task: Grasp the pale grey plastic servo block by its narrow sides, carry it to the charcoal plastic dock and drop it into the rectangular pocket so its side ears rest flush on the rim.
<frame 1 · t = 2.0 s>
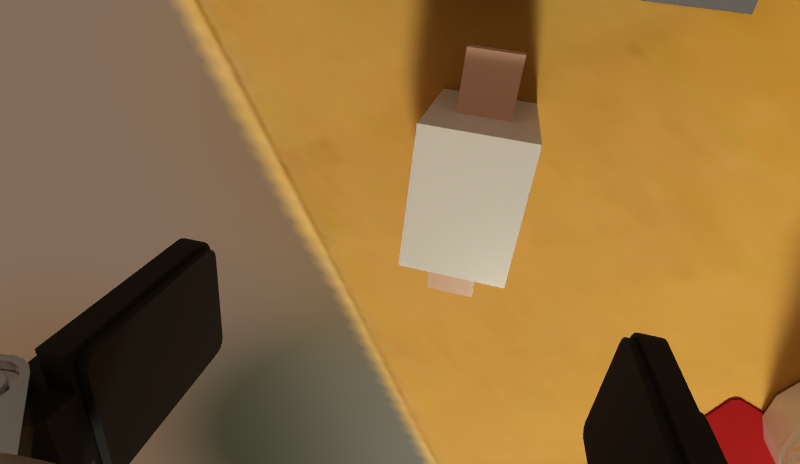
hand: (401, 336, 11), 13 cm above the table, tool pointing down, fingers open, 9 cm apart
servo block: (477, 156, 21), on the table
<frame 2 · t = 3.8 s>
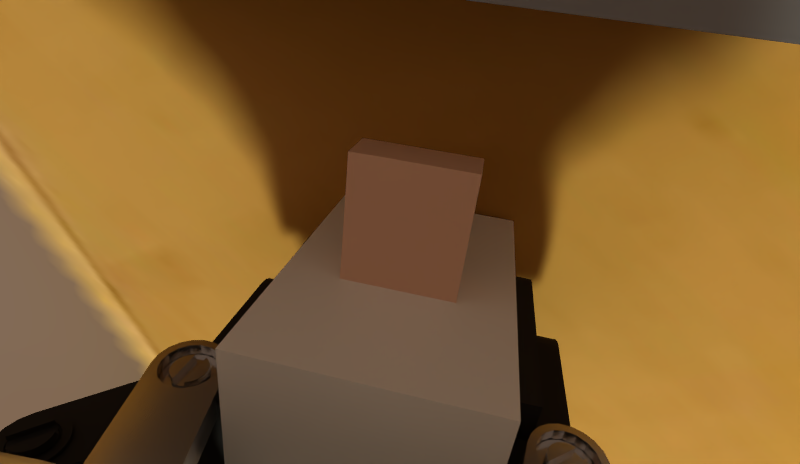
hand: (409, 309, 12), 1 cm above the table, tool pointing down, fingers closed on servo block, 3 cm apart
servo block: (414, 299, 13), on the table, touching gripper
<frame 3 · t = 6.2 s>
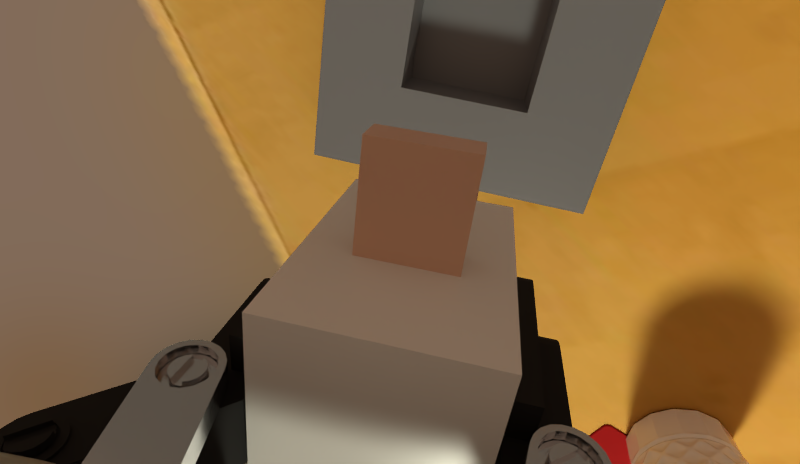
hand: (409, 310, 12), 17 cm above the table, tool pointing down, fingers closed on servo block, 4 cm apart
servo block: (418, 284, 13), point 16 cm above the table, touching gripper
white cup: (675, 439, 34), on the table
dock: (485, 9, 24), on the table
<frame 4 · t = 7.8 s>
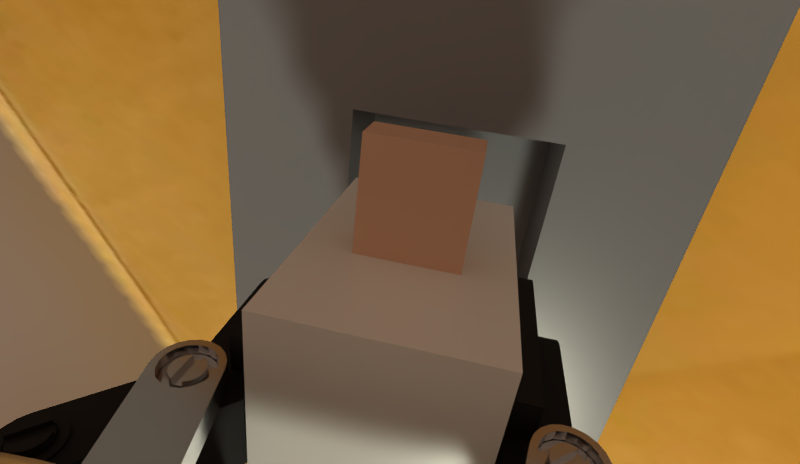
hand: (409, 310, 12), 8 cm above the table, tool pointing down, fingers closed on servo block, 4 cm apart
servo block: (418, 283, 13), point 6 cm above the table, touching gripper
dock: (450, 196, 18), on the table
when the fingers open (4 cm above the table, at t = 9.1 s): servo block drops 2 cm, resting on dock.
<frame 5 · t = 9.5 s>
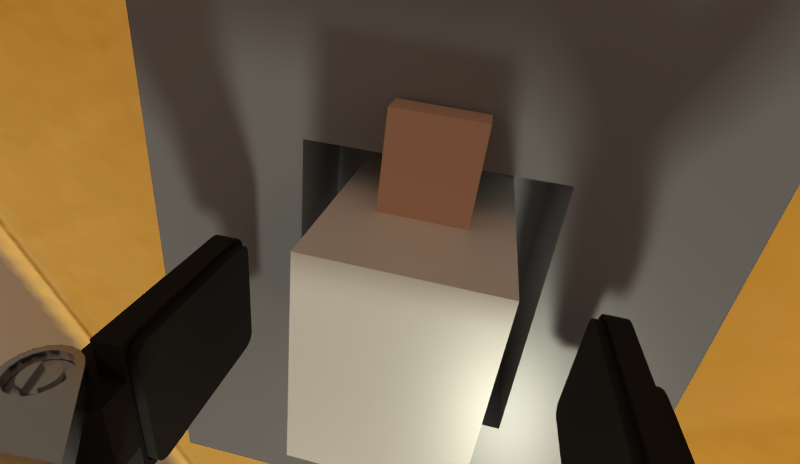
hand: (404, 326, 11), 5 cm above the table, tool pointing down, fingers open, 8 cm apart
servo block: (427, 247, 15), point 1 cm above the table, touching dock
dock: (432, 232, 15), on the table
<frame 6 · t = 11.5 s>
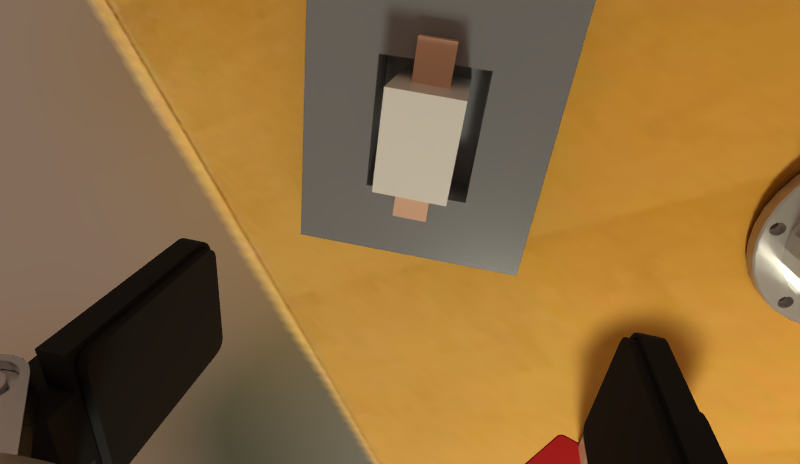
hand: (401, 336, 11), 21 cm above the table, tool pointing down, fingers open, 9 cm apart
servo block: (430, 119, 29), point 1 cm above the table, touching dock
dock: (432, 115, 30), on the table
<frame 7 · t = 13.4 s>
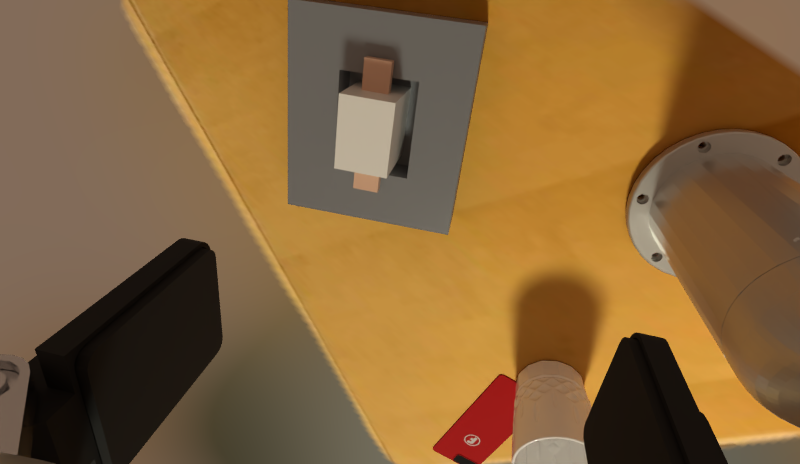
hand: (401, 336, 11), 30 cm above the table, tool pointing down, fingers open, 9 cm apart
servo block: (382, 117, 39), point 1 cm above the table, touching dock
white cup: (549, 383, 49), on the table
dock: (385, 114, 40), on the table
electronic device: (486, 421, 54), on the table
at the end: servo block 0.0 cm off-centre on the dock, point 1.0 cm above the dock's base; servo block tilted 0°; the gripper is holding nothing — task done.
